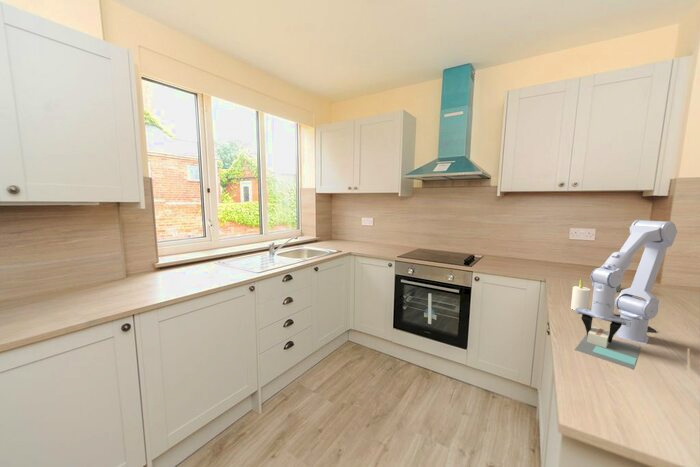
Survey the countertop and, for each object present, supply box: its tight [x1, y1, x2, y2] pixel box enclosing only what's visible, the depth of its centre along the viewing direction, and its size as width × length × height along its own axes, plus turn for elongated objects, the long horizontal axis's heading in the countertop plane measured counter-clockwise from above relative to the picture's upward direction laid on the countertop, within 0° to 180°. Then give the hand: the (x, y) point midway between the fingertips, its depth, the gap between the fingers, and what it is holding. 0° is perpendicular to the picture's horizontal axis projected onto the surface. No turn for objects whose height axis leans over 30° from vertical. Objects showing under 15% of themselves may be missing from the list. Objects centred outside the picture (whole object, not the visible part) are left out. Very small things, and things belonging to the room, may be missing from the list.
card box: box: [587, 326, 610, 348], centre depth 97 cm, size 8×5×4 cm, turn 129°
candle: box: [570, 278, 591, 311], centre depth 127 cm, size 6×6×15 cm
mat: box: [574, 333, 642, 370], centre depth 93 cm, size 20×14×1 cm
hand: (599, 338), depth 97 cm, fingers closed on card box, 5 cm apart
